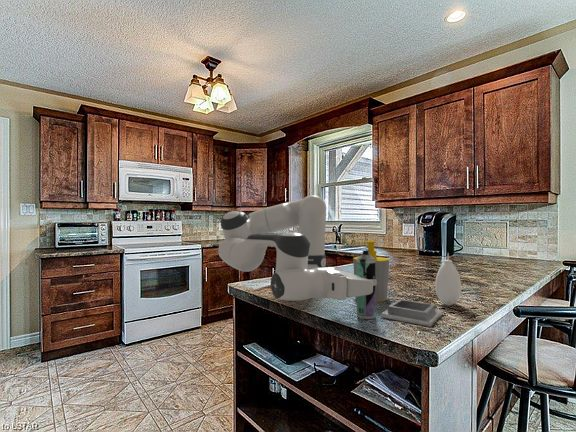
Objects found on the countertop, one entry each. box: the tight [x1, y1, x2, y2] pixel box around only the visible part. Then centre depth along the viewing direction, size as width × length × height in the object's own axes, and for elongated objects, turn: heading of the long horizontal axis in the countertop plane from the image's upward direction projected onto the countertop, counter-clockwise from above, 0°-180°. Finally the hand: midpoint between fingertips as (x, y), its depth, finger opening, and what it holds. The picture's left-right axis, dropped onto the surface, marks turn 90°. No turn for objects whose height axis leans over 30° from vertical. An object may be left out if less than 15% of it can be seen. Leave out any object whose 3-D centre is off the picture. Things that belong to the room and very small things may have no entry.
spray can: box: [356, 249, 376, 320], centre depth 99 cm, size 6×6×20 cm
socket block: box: [380, 298, 443, 327], centre depth 100 cm, size 14×14×3 cm
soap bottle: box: [352, 240, 390, 303], centre depth 122 cm, size 13×13×21 cm
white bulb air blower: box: [434, 252, 462, 306], centre depth 113 cm, size 8×8×18 cm
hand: (368, 279), depth 99 cm, fingers open, 6 cm apart
